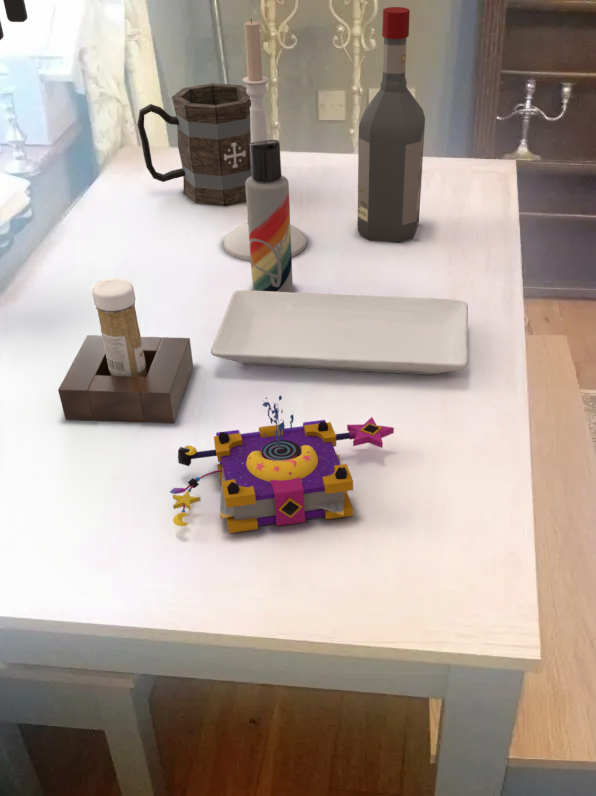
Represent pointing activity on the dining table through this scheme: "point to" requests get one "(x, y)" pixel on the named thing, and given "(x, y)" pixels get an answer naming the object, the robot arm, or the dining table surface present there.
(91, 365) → the hollow square block
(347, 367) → the tray
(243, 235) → the candlestick
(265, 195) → the lotion bottle
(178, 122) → the mug
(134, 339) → the sprinkles bottle
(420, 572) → the dining table surface
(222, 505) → the book
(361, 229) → the liquor
